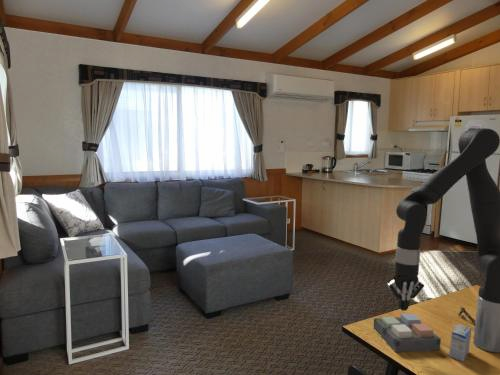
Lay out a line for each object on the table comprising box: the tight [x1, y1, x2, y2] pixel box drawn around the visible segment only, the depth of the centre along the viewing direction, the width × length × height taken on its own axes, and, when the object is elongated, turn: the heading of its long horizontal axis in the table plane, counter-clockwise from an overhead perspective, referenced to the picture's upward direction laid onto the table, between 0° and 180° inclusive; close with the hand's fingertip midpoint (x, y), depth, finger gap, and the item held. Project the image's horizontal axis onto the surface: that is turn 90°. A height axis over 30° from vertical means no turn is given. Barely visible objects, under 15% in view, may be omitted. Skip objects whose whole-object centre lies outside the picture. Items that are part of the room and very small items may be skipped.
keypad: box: [373, 316, 442, 353], centre depth 137 cm, size 16×16×4 cm
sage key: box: [381, 316, 400, 328], centre depth 140 cm, size 5×5×2 cm
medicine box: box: [448, 323, 472, 362], centre depth 128 cm, size 8×4×9 cm, turn 141°
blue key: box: [400, 313, 421, 327], centre depth 141 cm, size 5×5×2 cm
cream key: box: [391, 324, 412, 339], centre depth 132 cm, size 5×5×2 cm
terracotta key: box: [412, 323, 434, 338], centre depth 134 cm, size 5×5×2 cm
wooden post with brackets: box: [457, 306, 476, 326], centre depth 153 cm, size 2×8×4 cm, turn 21°
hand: (403, 309), depth 132 cm, fingers closed
